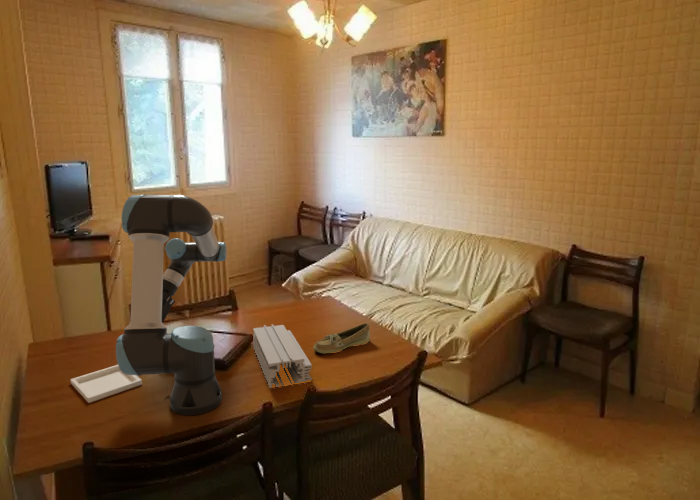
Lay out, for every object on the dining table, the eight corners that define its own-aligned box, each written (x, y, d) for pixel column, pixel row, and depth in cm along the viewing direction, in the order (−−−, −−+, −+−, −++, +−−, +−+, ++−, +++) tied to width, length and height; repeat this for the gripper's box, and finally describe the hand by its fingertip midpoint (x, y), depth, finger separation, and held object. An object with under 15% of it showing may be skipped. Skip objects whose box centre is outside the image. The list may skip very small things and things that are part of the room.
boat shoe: (308, 351, 184) (308, 332, 182) (356, 335, 200) (357, 317, 198) (324, 360, 177) (324, 340, 175) (372, 343, 192) (373, 325, 191)
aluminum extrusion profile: (290, 345, 188) (290, 322, 186) (311, 383, 160) (311, 355, 158) (253, 350, 183) (252, 326, 181) (269, 390, 156) (268, 361, 153)
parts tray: (142, 387, 155) (141, 380, 154) (88, 405, 144) (88, 398, 143) (122, 370, 166) (122, 363, 165) (71, 386, 154) (70, 379, 154)
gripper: (192, 291, 188) (161, 345, 178) (158, 283, 198) (127, 334, 187) (181, 282, 183) (148, 337, 173) (147, 274, 192) (113, 326, 182)
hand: (137, 335), depth 180 cm, fingers closed on pebble cup, 6 cm apart
